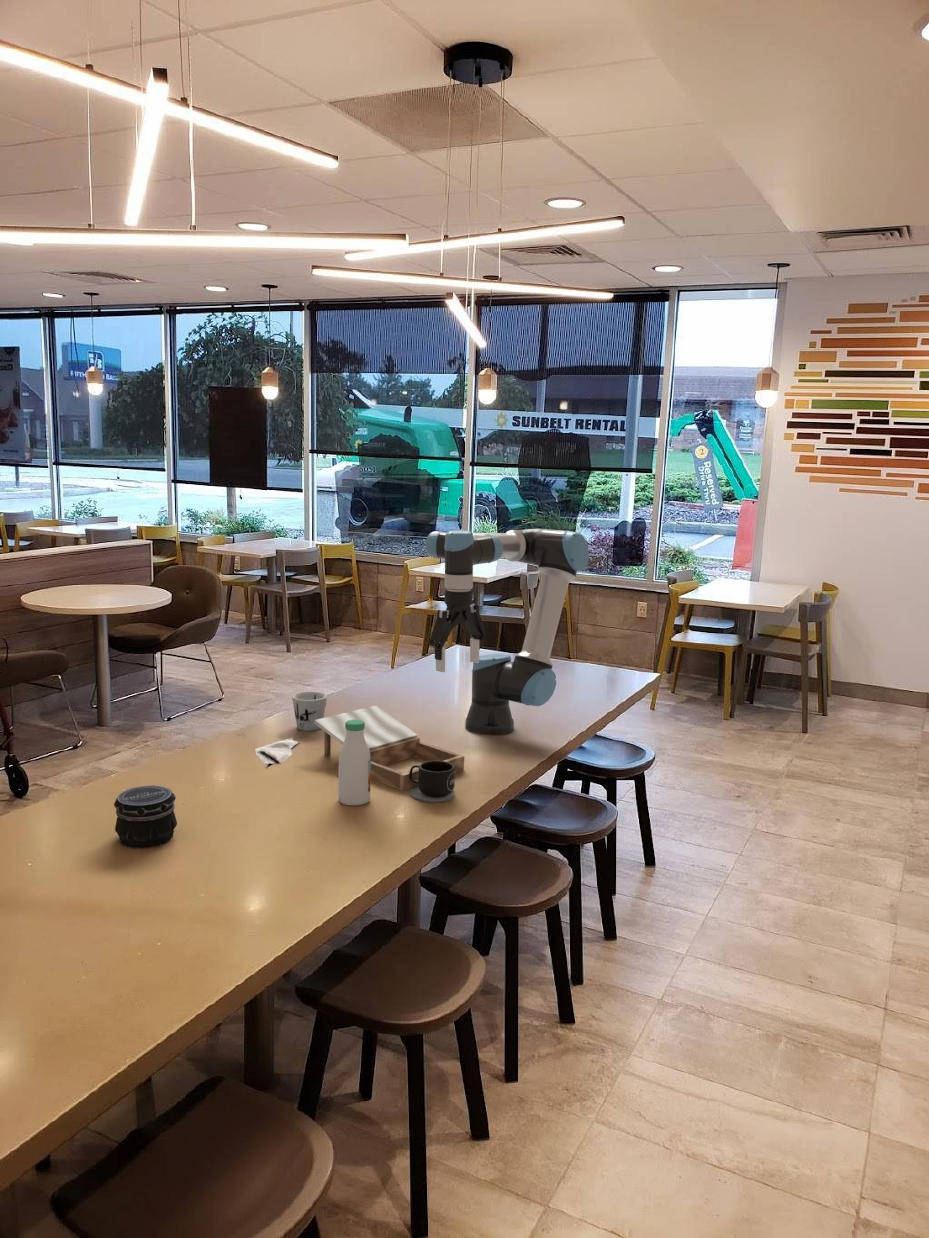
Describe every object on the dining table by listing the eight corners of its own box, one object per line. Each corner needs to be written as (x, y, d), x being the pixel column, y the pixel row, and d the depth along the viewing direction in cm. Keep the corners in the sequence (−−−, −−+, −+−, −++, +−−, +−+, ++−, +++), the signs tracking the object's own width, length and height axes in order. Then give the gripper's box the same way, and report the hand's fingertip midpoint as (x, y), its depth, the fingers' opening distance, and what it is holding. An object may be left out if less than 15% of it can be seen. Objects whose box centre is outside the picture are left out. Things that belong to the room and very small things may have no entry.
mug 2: (459, 790, 234) (460, 763, 233) (445, 802, 226) (446, 774, 225) (416, 782, 239) (417, 756, 237) (401, 794, 230) (401, 766, 229)
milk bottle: (364, 808, 223) (365, 727, 219) (334, 804, 224) (334, 724, 221) (374, 796, 230) (375, 718, 227) (344, 793, 232) (344, 716, 228)
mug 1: (285, 729, 282) (285, 697, 280) (311, 717, 296) (311, 686, 294) (315, 734, 278) (315, 702, 276) (340, 721, 292) (340, 690, 290)
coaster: (432, 783, 240) (432, 781, 240) (463, 794, 233) (463, 792, 233) (401, 793, 232) (401, 791, 232) (432, 806, 225) (432, 803, 225)
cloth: (277, 738, 276) (277, 730, 275) (319, 743, 272) (319, 736, 272) (231, 765, 251) (230, 757, 251) (276, 772, 247) (276, 763, 247)
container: (142, 855, 194) (140, 810, 192) (102, 840, 201) (100, 796, 199) (189, 835, 205) (188, 792, 203) (150, 821, 211) (149, 779, 209)
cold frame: (374, 739, 275) (375, 705, 273) (463, 770, 251) (464, 733, 249) (314, 756, 259) (314, 719, 257) (403, 790, 235) (403, 750, 233)
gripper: (478, 582, 259) (477, 656, 263) (415, 593, 241) (415, 672, 245) (499, 585, 254) (498, 660, 258) (436, 596, 236) (435, 677, 240)
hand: (457, 666), depth 252 cm, fingers open, 13 cm apart
